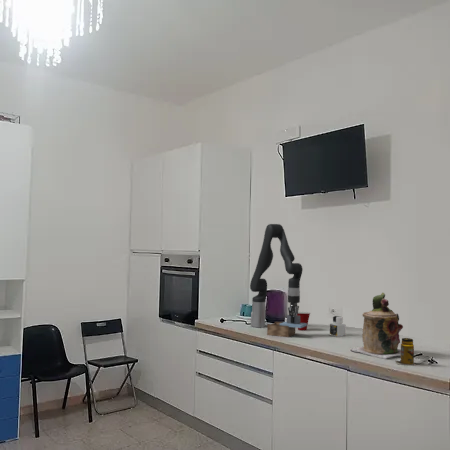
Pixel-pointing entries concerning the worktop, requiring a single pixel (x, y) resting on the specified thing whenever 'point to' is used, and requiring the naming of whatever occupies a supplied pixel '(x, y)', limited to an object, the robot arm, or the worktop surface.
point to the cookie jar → (380, 331)
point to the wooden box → (280, 330)
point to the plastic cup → (303, 319)
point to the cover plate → (296, 322)
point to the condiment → (407, 352)
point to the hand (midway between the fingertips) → (293, 322)
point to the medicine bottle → (337, 326)
